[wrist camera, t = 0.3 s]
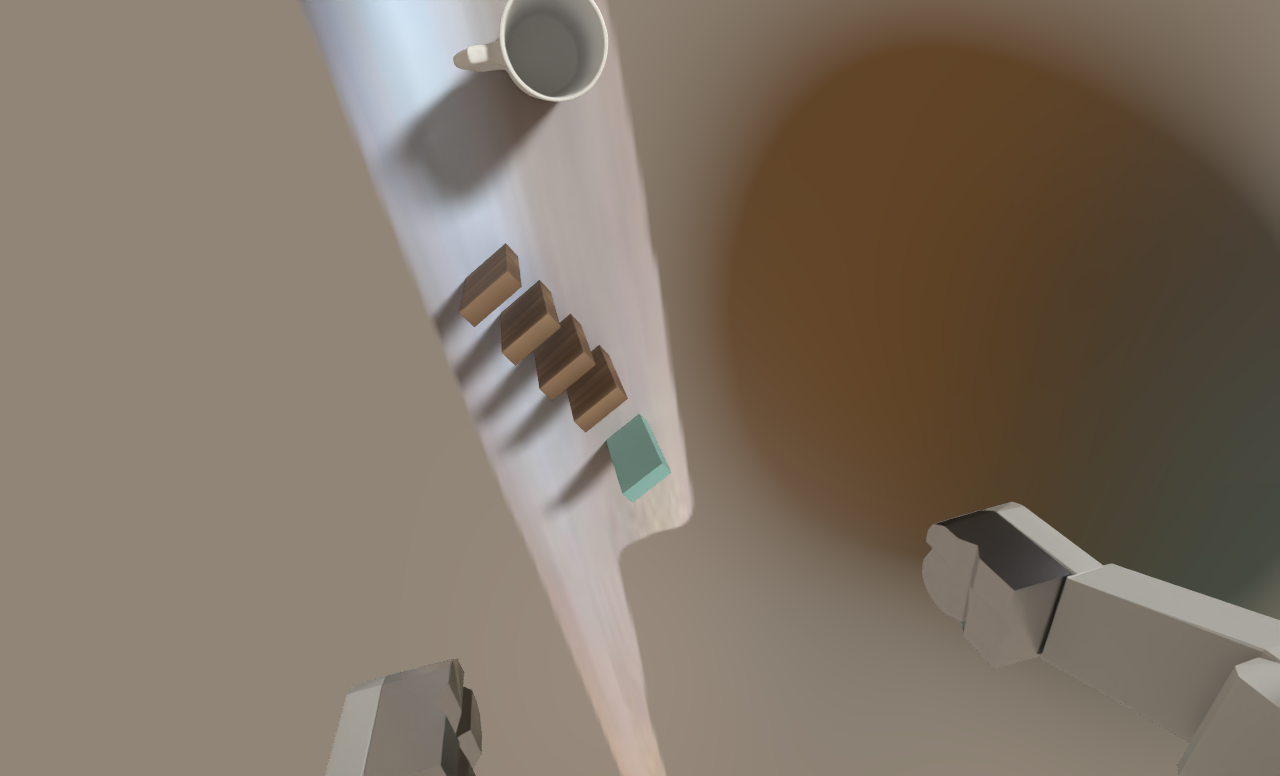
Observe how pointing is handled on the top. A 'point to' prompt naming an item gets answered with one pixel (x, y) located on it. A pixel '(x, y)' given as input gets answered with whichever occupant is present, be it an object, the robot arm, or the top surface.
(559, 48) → the mug
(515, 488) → the top surface
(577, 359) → the domino
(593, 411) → the domino
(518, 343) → the domino
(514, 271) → the domino
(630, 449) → the domino
